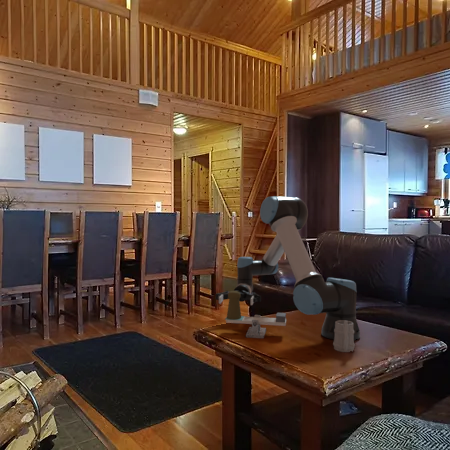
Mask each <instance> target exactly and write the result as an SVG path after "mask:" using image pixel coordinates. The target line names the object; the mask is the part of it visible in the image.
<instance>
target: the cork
mask: <svg viewBox="0 0 450 450" xmlns="http://www.w3.org/2000/svg"><path fill="white" fill-rule="evenodd" d="M240 296H241V295H240V292H238V291H234V290H230V291H229V293H228V298H229V299H228V305H227V312H226V313H227V315H226V317H227V318H228V319H241V316H242V312H241V305H240V301H239V299H240Z"/></svg>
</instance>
